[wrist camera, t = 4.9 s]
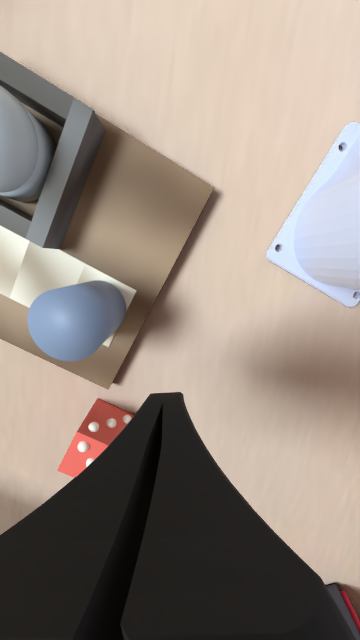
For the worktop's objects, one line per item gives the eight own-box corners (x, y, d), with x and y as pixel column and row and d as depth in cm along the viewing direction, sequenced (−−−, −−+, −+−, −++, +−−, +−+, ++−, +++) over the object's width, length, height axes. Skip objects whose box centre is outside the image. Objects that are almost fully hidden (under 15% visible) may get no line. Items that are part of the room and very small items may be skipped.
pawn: (85, 270, 16) (42, 274, 11) (135, 297, 16) (115, 312, 12) (64, 317, 17) (17, 340, 12) (112, 341, 17) (85, 373, 12)
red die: (99, 394, 20) (76, 431, 16) (140, 413, 20) (128, 454, 16) (80, 431, 21) (54, 475, 17) (119, 448, 21) (103, 495, 17)
